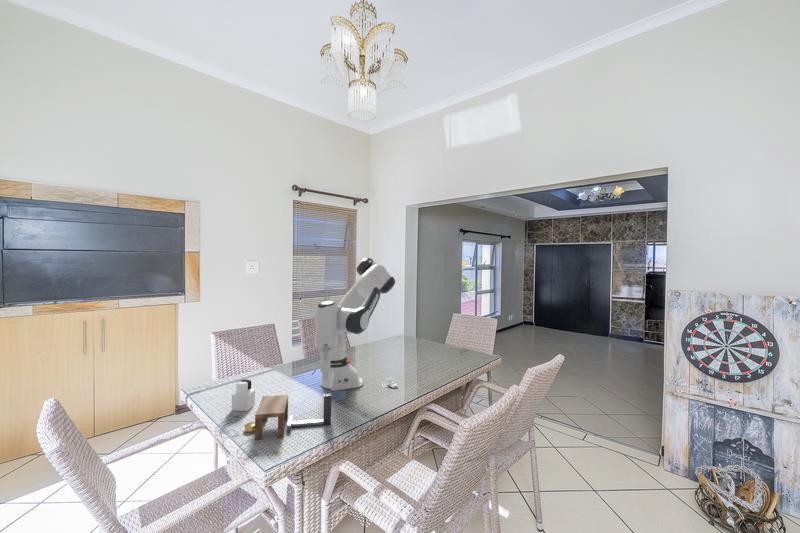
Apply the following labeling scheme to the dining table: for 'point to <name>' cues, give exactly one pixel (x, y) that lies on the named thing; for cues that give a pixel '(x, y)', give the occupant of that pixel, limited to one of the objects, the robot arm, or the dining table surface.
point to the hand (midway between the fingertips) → (325, 375)
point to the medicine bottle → (243, 396)
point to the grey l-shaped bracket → (324, 421)
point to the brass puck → (250, 427)
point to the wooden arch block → (271, 413)
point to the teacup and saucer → (390, 383)
